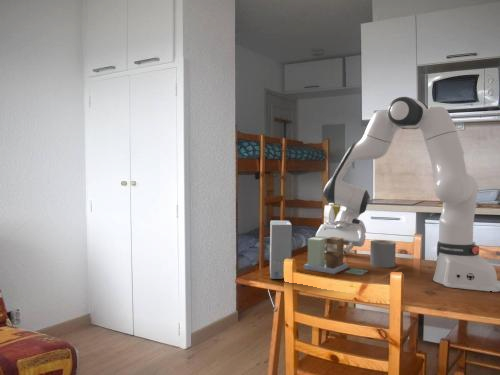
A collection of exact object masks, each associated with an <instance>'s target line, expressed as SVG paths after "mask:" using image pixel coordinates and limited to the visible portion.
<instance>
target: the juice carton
mask: <svg viewBox="0 0 500 375" xmlns="http://www.w3.org/2000/svg"><path fill="white" fill-rule="evenodd" d="M340 206H341V205H338V204H334V203H331V202H328V204H327V205H324V210H323V224H324V223H334V221H335V219H336V216H337V214H338V213H339V211H340ZM325 245H326V244H325ZM344 248H345V245H343V250H344ZM325 254H326V251H325Z"/></svg>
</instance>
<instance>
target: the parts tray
mask: <svg viewBox="0 0 500 375" xmlns="http://www.w3.org/2000/svg"><path fill="white" fill-rule="evenodd" d="M348 268H349V263H347V262H343V265H341V266H339V267H336V268H334V269H332V268H326V259H325V267H318V266H311V265H308V262H307V263H305V264H303V270H307V271H314V272H321V273H327V274H333V275H335V274H338V273H339V272H341V271H345V270H346V269H348Z"/></svg>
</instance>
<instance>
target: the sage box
mask: <svg viewBox="0 0 500 375" xmlns="http://www.w3.org/2000/svg"><path fill="white" fill-rule="evenodd" d="M325 254H326V253H325V238H316V236H314V237H310V238H307V263H308V265H311V266H318V267H325V260H326V255H325Z"/></svg>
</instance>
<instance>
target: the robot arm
mask: <svg viewBox="0 0 500 375" xmlns="http://www.w3.org/2000/svg"><path fill="white" fill-rule="evenodd" d="M400 129H402V130H403V129H404V130H416V129H417V130H418V129H420V131H421V133H422V135H423V139H424V143H425V146H426V149H427V152H428V156H429V158H430V162H431V168H432V177H433V183H434V193H435V196H436V197H437V198H438V199H439V200H440V201H441V202H442V208H441V212H440V213H441V214H440V217H439V221H438V224H439V225H438V240H437V244H436V256H437V262H436V268H435V272H434V275H433V278H432V280H433V281H434V282H436V283H437V284H441V285H443V286H444V287H446V288H452V289H453V288H455V289H464V290H471V291H473V290H474V291H481V292H482V291H484V292H490V291H492V293H496V292H500V280H498V275H497V272H496V268H495V267H494V266H493V265H492V264H491V263H489V262H488V261H487V260H485V259H484V257H482V256H480V255H479V254H480V245H477V244H475V243H474V221H475V213H476V209H477V199H478V198H477V197H478V189H479V188H478V187H479V186H478V182H477V180H476V179H475V178H474V177H473V176H472V175H471V174H468V173H467V167H466V163H465V156H464V153H465V152H464V150H463V147H462V143H461V140H460V137H459V134H458V130H457V128H456V125H455V123H454V121H453V118H452V117H451V115H450V113H449V111H448V109H446V108H445V107H443V106H433V107H430V108H429V107H428V106H427V105H426V104H425V102H424V103H423V102H422V101H419V100H418V99H416V98H412V97H408V96H400V97H397V98H395V99H393V100H392V101H391V103H389V105H388V107H387V109H379V110H376V111H375V112H373V114H372V116H371V118H370V119H369V121H368V123H367V125H366V128H365V131H364V133H363V135H362V137H361V139H360V140H359V141H358V142H356V143H353V144H351V145H350V147H348V149H347V150H346V152H345V153H344V156H343V157H342V158H341V160H340V162H339V164H338V166H337V167H336V169H335V171H334V173H333V174H332V177H331V178H330V179H329V180H328V181H327V183H326V184H325V186H324V188H323V191H322V192H323V193H322V194H323V197H324V199H325V200H326V202H328V203H334V205H338V206H340V211H339V213H338V214H337V216H336V219H335V221H334V223H324V222H323V223H322V224H320V226H319V228H318V230H317V231H316V233H315V237H316V238H325V244H326V238H330V237H338V238H343V245H344V246H347V247H344V250H343V254H347V255H349V252H350V251H351V250H352V249H353V248H354V247H359V248H360V247H362V246H364V245H365V241H366V237H367V236H366V233H367V229H366V225H365V223H364V221H363V220H361V219H359V217H360V215H362V214H363V213H365V212H366V211H367V207H368V204H369V201H370V198H371V196H370V194H369V192H368V190H367V189H365V188H362V187H360V186H357V185H354V184H351V183H348V182H345V181H343V178H344V176H345V175H346V173H347V171H348V170H349V168H350V166H351V164H353V163H354V162H357V161H373V160H377V159H381V158H382V157H384V156H386V154H387V153H388V150H390V149H389V148H390V147H391V144H392V142H393V140H394V136H395V134H396V132H397V131H398V130H400ZM325 251H326V245H325Z"/></svg>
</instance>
